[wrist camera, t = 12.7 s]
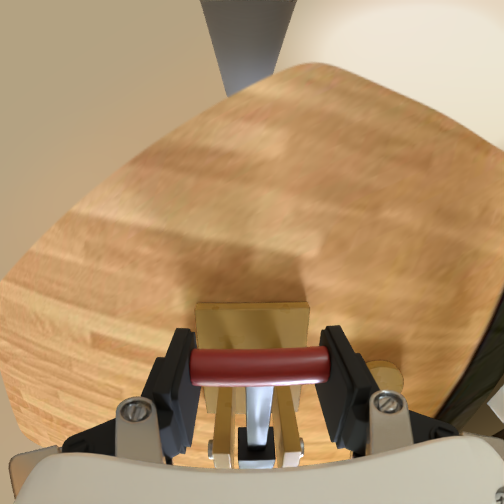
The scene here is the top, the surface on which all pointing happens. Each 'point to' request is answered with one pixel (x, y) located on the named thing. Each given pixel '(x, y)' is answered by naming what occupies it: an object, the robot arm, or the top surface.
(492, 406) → the milk
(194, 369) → the switch lever
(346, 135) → the top surface
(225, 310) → the switch bracket
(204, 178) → the top surface
